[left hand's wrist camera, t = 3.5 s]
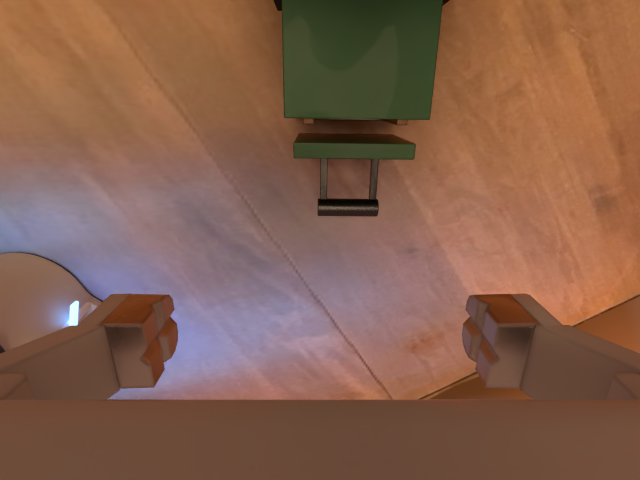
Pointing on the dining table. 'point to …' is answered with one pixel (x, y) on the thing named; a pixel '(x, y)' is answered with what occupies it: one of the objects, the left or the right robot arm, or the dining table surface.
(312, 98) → the green drawer cabinet
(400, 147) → the drawer
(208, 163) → the dining table surface
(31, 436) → the left robot arm
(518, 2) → the dining table surface
